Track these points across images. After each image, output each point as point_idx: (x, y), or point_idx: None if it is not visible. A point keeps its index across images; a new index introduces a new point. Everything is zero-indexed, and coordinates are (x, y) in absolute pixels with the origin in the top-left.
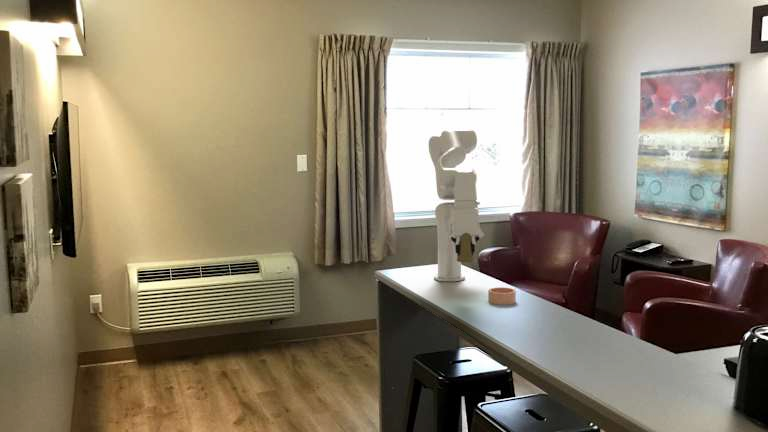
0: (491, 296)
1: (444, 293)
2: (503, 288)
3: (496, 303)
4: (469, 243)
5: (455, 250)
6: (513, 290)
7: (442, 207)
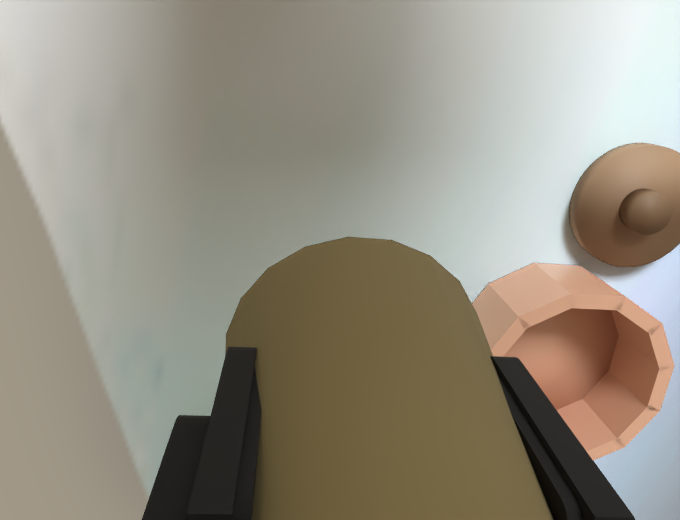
0: None
1: (193, 5)
2: (621, 313)
3: None
4: None
5: (172, 436)
6: (648, 402)
7: None
